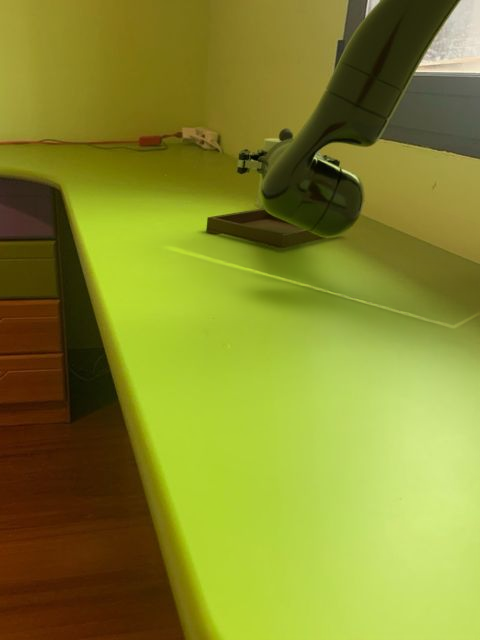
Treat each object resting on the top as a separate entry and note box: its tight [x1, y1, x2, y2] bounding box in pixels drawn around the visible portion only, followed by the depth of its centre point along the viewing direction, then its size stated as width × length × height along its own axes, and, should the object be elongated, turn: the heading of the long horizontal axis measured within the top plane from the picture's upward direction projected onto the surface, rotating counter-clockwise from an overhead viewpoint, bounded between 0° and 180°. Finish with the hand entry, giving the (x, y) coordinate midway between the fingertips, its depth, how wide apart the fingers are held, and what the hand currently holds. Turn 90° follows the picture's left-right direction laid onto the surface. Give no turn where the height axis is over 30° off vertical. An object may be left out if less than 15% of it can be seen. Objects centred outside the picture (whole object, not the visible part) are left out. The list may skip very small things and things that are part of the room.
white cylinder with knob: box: [254, 128, 294, 209], centre depth 100 cm, size 7×7×11 cm
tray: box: [205, 208, 327, 249], centre depth 104 cm, size 16×14×2 cm
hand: (280, 158), depth 102 cm, fingers closed on white cylinder with knob, 6 cm apart
